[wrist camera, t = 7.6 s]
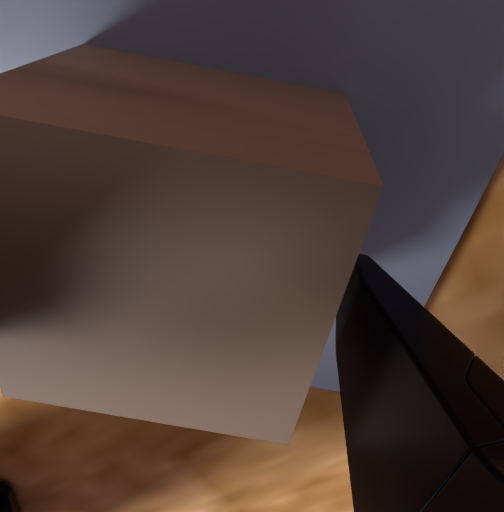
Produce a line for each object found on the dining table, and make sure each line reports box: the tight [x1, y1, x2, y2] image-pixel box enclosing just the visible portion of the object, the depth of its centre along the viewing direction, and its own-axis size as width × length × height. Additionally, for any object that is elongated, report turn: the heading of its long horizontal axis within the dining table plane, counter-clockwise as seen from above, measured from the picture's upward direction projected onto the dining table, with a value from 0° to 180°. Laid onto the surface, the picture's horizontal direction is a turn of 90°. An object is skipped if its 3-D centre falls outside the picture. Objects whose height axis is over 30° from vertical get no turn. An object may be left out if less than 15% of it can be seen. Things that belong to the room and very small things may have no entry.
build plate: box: [0, 0, 504, 392], centre depth 12 cm, size 14×14×1 cm
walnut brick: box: [0, 44, 384, 445], centre depth 9 cm, size 6×6×5 cm
